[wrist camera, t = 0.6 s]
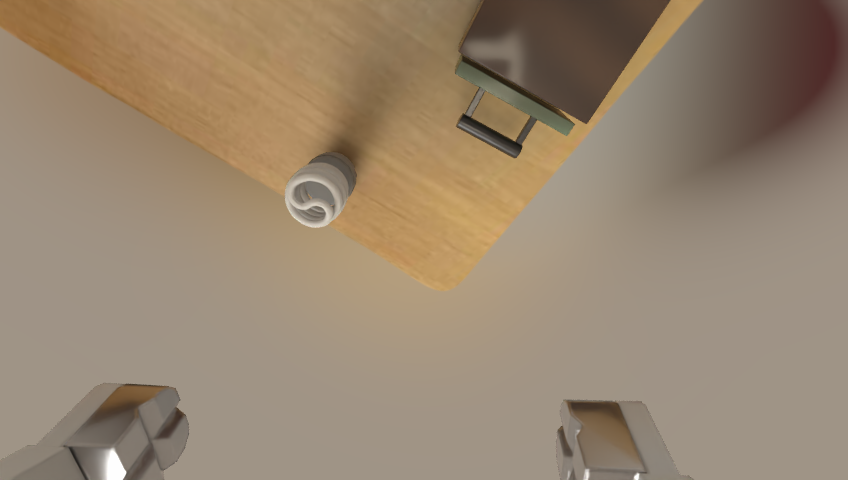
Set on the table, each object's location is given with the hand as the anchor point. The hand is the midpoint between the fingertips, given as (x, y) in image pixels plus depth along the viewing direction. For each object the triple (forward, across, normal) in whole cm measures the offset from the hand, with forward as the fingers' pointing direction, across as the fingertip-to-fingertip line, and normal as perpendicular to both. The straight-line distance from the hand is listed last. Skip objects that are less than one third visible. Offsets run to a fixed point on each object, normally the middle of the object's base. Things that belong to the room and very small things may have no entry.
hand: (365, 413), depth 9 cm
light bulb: (+42, +12, +7) cm, 45 cm away
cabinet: (+42, -11, -9) cm, 45 cm away
